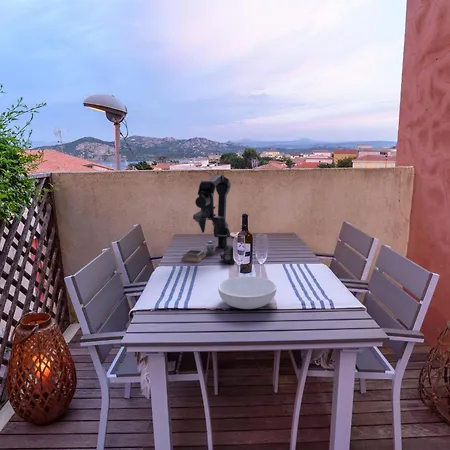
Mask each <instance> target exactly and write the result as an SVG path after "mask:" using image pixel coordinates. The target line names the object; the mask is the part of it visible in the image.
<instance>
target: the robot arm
mask: <svg viewBox="0 0 450 450" xmlns="http://www.w3.org/2000/svg"><path fill="white" fill-rule="evenodd" d="M231 187H232V184H231V181H230V179H229V178H227V177H225V174H223V173H218V174H217V173H216V174H214V175H213V176H212V177H210V178H209V179H207V180H206V179H205V180H201V181H200V184H199V186H198V192H197V195H198V196H197V198H196V199H195V205H196V207H197V208H199V209H200V210H199V211H198V212H196V213H194V214H193V215H192V219H193V220H194V221H195V222H196V223H197V224H198V225H199V228H200V230H201V233H202V234H203V233H205V230H206V224H207V220H208V221H211V222H212V223H211V225H212V226H213V235H214V238H217V245H215V249H216V248H218V249H219V248H220V249H224V248H225V247H227V246H230V245H229V244H228V238H231V230H230V228H229V224H228V222H227V220H226V217H227V198H228V197H227V196H228V194H229V193H230V189H231ZM215 191H216V193H217V195H218V199H217V200H218V201H217V203H218V205H217V215H216V214H215V209H216V206H214V203H215V202H214V200H215V199H214V195H215Z"/></svg>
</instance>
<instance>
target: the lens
mask: <svg viewBox="0 0 450 450" xmlns="http://www.w3.org/2000/svg"><path fill="white" fill-rule="evenodd" d="M205 254H206V256H214V255H216V241H214V240H207V241H205Z"/></svg>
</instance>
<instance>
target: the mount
mask: <svg viewBox="0 0 450 450" xmlns="http://www.w3.org/2000/svg"><path fill="white" fill-rule="evenodd" d="M206 257H207V255H206V253H205V250H201V249H188V250H186V251H185V252H183V256H182V257H181V261H186V262H198V263H200V262H202V261H203V260H204V259H206Z"/></svg>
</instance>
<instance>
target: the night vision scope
mask: <svg viewBox="0 0 450 450" xmlns="http://www.w3.org/2000/svg"><path fill="white" fill-rule="evenodd" d="M233 247H234V246H233V245H229V246H227V247H225V248H223V253H222V254H221V253H220V254H219V256H220V258H221V259H222V261H224V262H225V263H230V265H234V264H235V262H236V260H235V261H234V259H233Z"/></svg>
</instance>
